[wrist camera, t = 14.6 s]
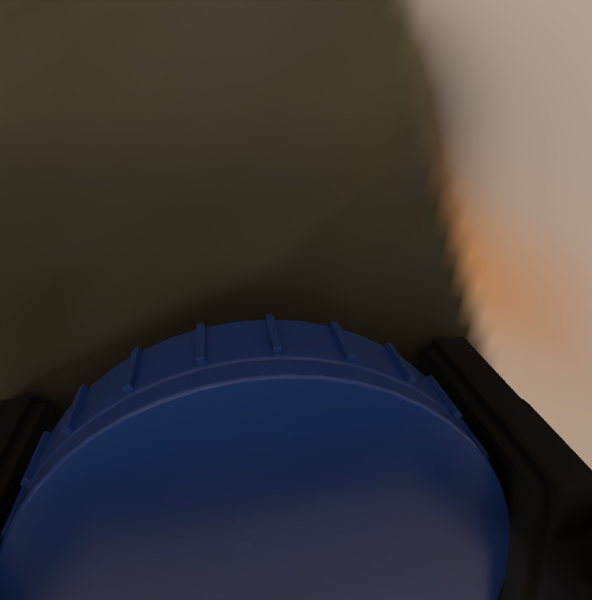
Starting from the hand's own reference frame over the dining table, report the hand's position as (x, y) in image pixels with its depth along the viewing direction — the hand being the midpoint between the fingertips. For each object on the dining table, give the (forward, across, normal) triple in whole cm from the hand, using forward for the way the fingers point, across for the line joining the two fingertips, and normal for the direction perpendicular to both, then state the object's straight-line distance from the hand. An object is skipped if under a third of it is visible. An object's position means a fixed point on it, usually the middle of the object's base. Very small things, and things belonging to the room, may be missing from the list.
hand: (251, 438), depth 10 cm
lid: (-3, 0, 0) cm, 3 cm away
